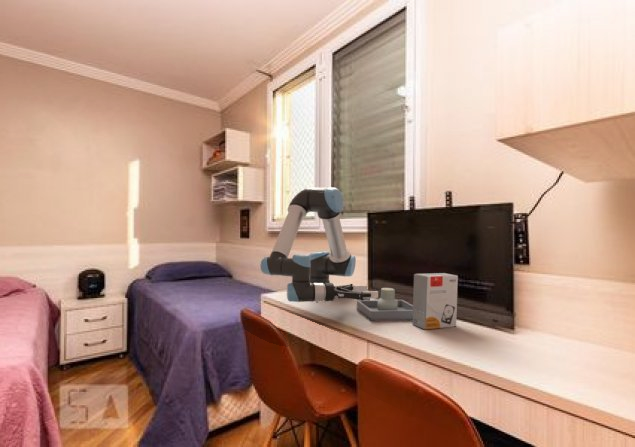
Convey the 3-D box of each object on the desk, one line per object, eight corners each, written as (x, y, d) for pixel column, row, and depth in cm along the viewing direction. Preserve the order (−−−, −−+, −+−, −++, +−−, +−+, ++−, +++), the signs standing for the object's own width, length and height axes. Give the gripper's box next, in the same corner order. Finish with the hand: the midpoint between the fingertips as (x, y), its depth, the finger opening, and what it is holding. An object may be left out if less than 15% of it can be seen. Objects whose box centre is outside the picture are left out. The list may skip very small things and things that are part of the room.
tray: (356, 309, 156) (356, 300, 156) (402, 308, 159) (402, 299, 159) (370, 321, 136) (371, 311, 136) (422, 320, 140) (422, 310, 140)
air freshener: (378, 308, 154) (379, 286, 154) (397, 309, 152) (398, 287, 152) (376, 314, 143) (377, 290, 143) (396, 316, 141) (397, 291, 141)
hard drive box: (424, 330, 125) (425, 276, 126) (411, 324, 132) (412, 273, 133) (457, 326, 131) (458, 275, 131) (443, 321, 138) (444, 272, 138)
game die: (365, 313, 164) (365, 299, 158) (351, 304, 168) (351, 290, 162) (375, 302, 169) (376, 288, 163) (361, 293, 173) (362, 279, 167)
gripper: (318, 295, 155) (363, 294, 159) (330, 308, 130) (382, 307, 134) (318, 278, 155) (363, 278, 159) (330, 288, 130) (383, 287, 134)
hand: (372, 291), depth 146 cm, fingers open, 13 cm apart
